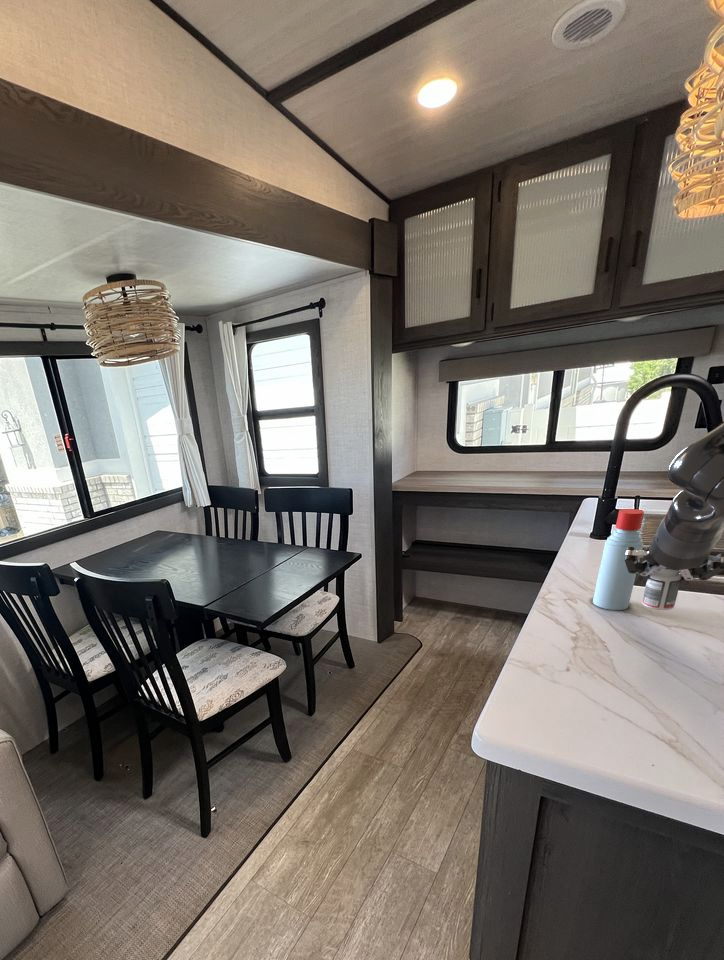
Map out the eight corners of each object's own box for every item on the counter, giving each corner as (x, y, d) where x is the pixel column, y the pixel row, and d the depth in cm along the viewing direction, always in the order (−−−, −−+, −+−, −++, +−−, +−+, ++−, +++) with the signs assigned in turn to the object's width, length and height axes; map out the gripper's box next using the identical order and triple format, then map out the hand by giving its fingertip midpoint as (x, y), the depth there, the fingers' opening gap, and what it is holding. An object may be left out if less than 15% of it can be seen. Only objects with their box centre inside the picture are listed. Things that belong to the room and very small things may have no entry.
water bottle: (627, 600, 103) (650, 510, 95) (628, 612, 98) (652, 518, 90) (593, 596, 106) (611, 508, 98) (592, 607, 101) (611, 516, 93)
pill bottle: (669, 601, 88) (680, 559, 85) (677, 611, 84) (689, 568, 81) (638, 599, 90) (648, 558, 87) (644, 609, 86) (655, 566, 83)
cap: (639, 526, 96) (643, 509, 94) (640, 531, 93) (644, 514, 91) (615, 524, 98) (619, 508, 96) (615, 529, 95) (619, 513, 93)
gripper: (749, 518, 70) (713, 567, 84) (632, 513, 78) (617, 559, 92) (746, 562, 69) (710, 605, 82) (626, 553, 76) (611, 593, 90)
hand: (661, 580), depth 87 cm, fingers closed on pill bottle, 4 cm apart
